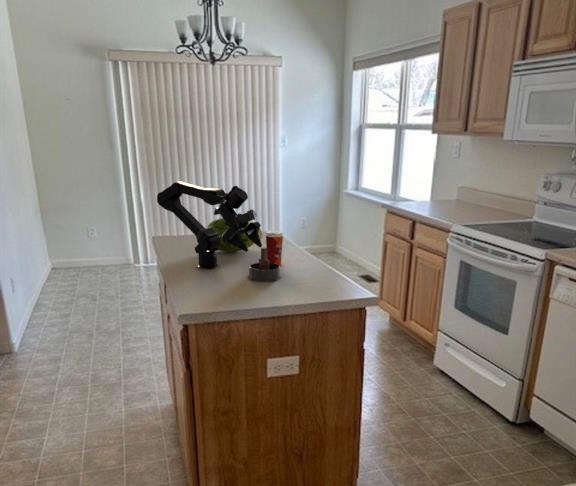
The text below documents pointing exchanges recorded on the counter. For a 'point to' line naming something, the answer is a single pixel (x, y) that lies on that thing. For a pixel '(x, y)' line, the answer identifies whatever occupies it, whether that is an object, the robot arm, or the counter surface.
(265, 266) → the brown stepped tower
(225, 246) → the lettuce
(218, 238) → the robot arm
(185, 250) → the counter surface
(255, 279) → the tub
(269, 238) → the paper cup
